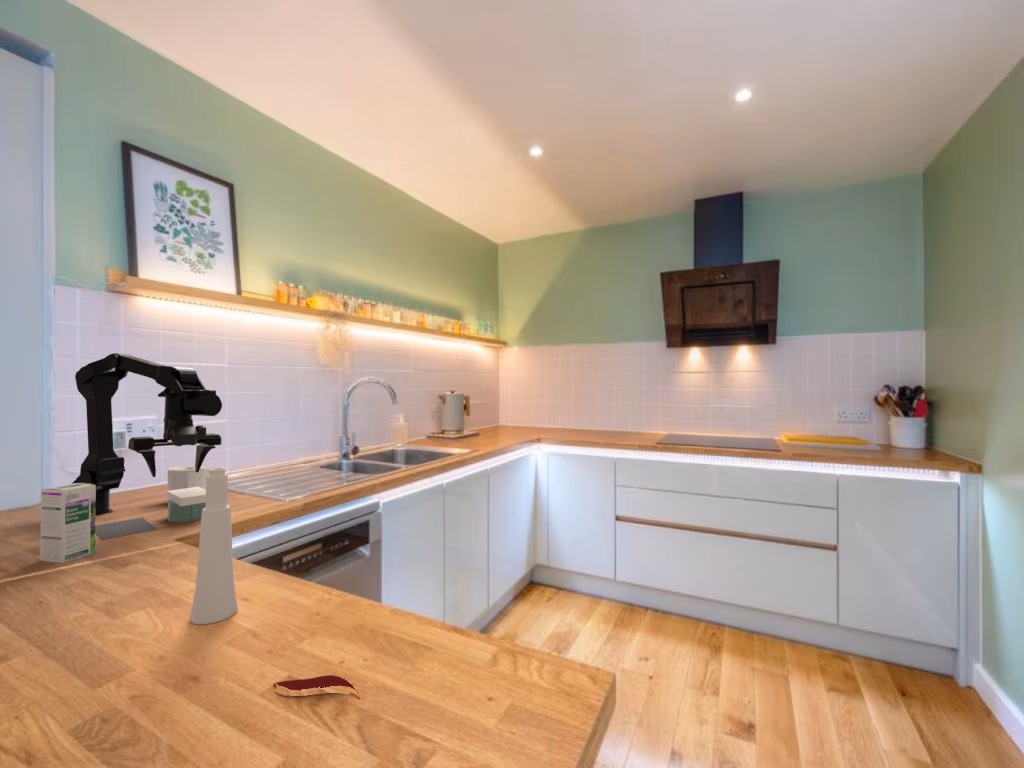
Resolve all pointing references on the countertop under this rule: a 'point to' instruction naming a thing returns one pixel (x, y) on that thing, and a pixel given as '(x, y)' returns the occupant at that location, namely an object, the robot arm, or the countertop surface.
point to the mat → (123, 528)
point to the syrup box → (67, 522)
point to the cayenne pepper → (315, 683)
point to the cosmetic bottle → (215, 555)
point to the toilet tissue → (187, 477)
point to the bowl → (184, 512)
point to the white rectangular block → (187, 496)
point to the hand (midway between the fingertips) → (176, 474)
